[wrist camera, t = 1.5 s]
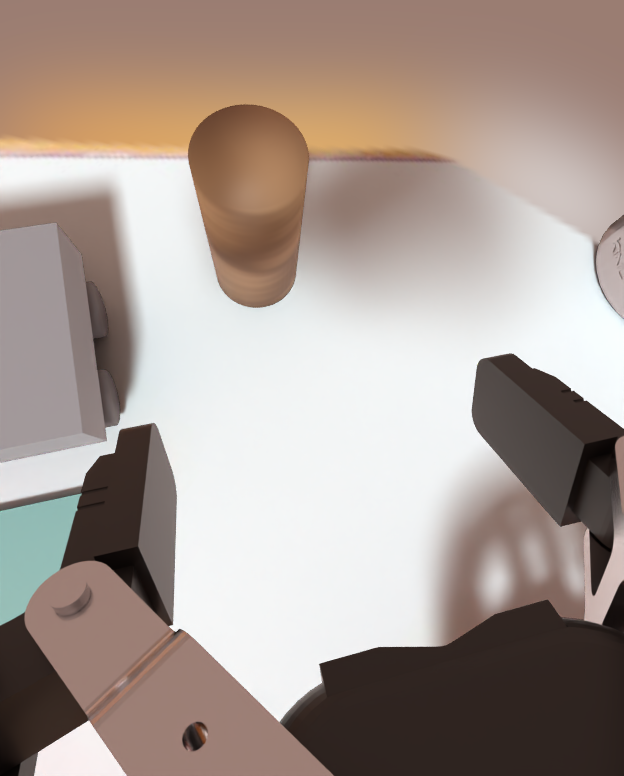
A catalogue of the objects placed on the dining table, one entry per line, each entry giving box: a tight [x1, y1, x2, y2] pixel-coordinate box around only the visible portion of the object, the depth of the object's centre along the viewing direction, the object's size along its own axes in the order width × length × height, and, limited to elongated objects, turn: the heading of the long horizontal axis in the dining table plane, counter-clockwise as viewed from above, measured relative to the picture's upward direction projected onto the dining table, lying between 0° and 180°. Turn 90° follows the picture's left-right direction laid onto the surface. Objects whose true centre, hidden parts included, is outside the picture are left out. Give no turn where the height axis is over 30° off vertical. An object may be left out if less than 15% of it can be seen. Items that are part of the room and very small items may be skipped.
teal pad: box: [0, 494, 82, 625], centre depth 23 cm, size 9×9×1 cm
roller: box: [188, 105, 309, 308], centre depth 24 cm, size 5×5×10 cm
